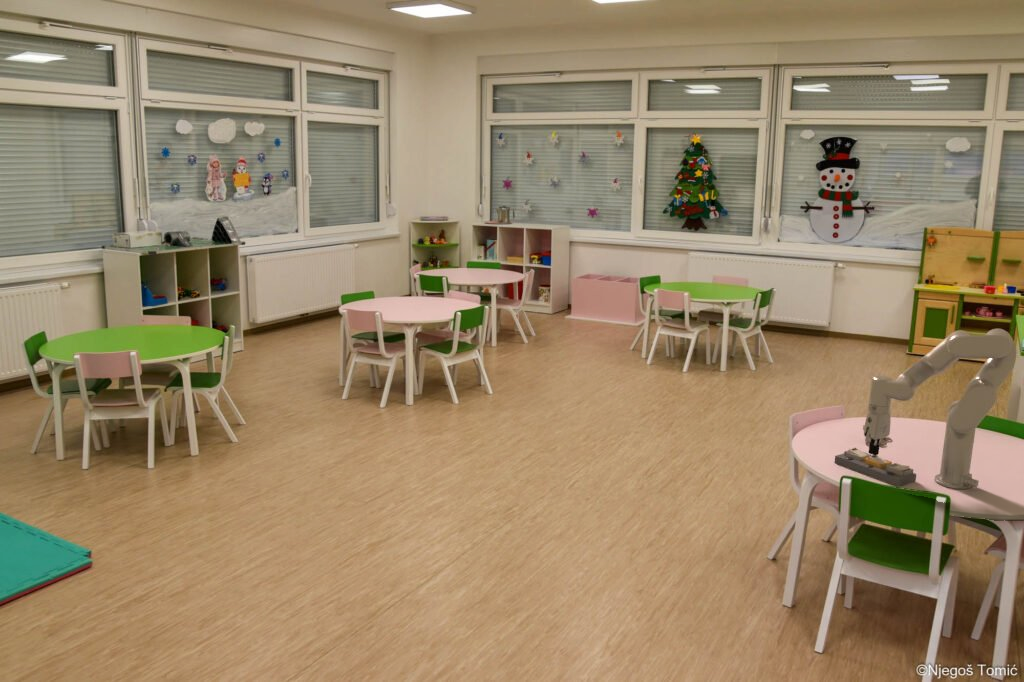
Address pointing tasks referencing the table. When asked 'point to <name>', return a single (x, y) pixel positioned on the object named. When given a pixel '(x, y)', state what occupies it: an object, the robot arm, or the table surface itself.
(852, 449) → the rocker
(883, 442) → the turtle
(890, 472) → the rocker switch panel
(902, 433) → the table surface
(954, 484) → the robot arm
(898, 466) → the rocker
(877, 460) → the rocker middle
